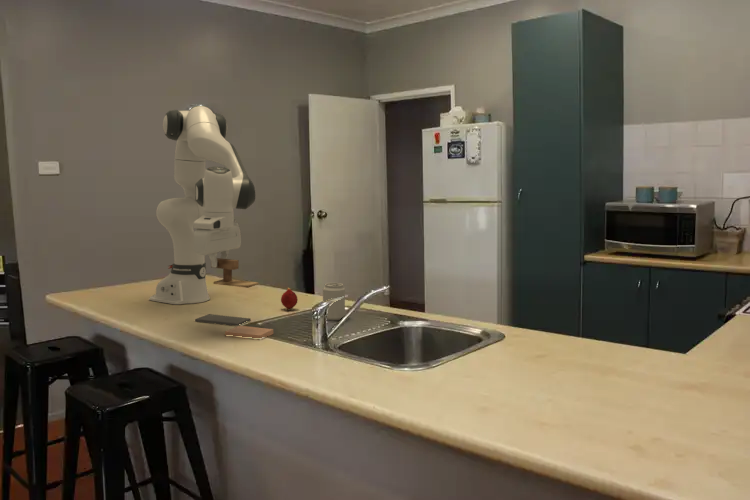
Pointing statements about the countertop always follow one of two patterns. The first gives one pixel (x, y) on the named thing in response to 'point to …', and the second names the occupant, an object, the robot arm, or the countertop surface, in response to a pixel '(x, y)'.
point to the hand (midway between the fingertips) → (218, 266)
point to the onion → (289, 299)
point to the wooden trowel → (227, 274)
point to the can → (337, 307)
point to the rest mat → (222, 319)
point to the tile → (249, 332)
